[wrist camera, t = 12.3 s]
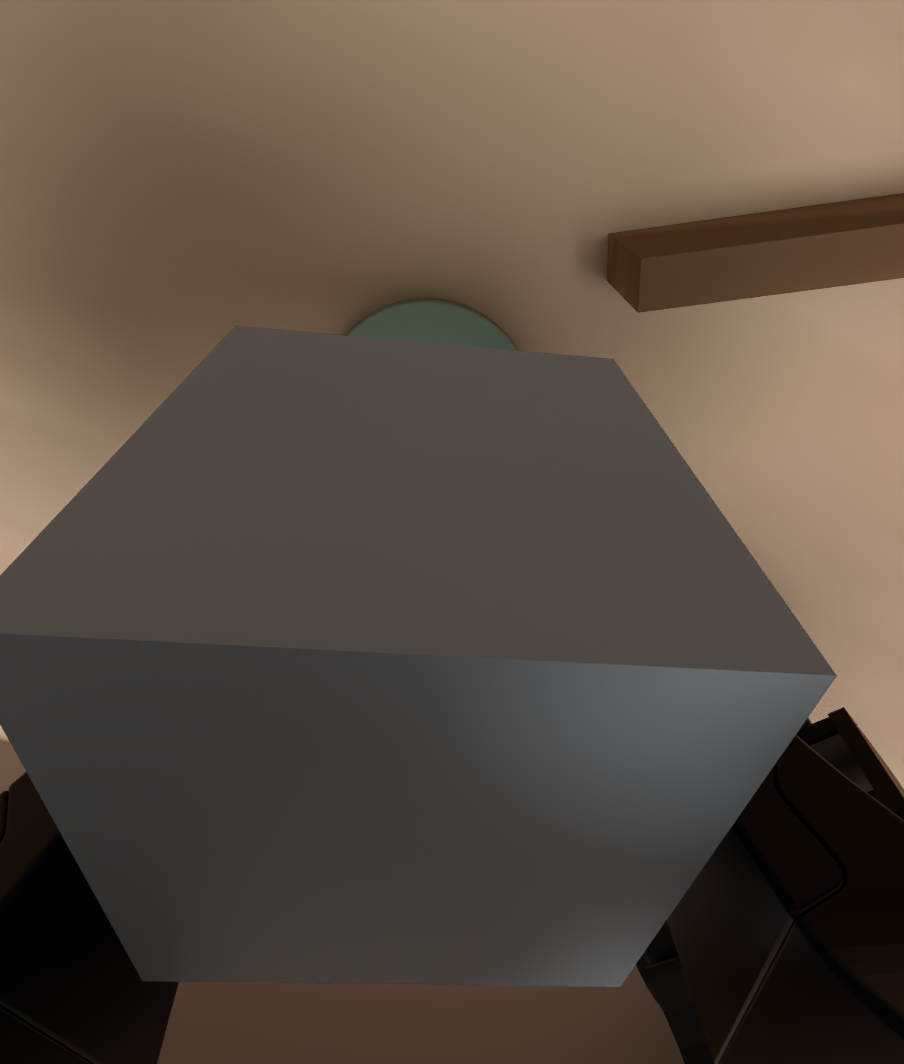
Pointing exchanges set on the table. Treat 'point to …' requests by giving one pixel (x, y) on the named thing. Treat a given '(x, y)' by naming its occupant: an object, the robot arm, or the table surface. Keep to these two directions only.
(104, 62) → the table surface
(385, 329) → the coaster
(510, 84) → the table surface
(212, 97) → the table surface
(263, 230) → the table surface
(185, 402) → the block
